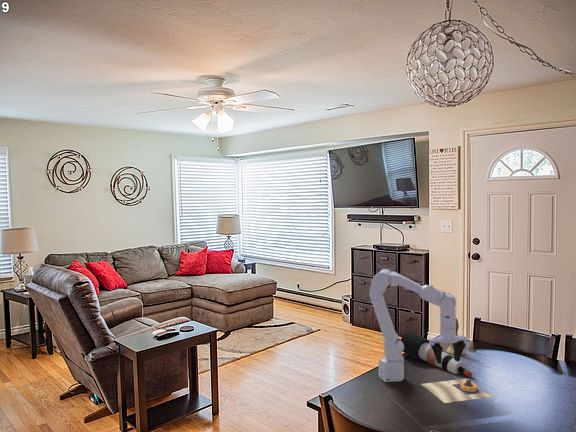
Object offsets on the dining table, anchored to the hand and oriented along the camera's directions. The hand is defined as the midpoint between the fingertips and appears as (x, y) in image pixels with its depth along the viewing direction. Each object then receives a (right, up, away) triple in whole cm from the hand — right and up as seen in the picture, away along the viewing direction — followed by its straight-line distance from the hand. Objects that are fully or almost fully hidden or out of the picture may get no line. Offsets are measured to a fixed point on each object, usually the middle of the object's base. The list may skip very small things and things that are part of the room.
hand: (447, 361), depth 164 cm
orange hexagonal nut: (+7, -10, -2) cm, 13 cm away
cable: (+3, -10, +23) cm, 25 cm away
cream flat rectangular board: (+2, -11, -3) cm, 11 cm away
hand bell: (+18, -9, +39) cm, 44 cm away
